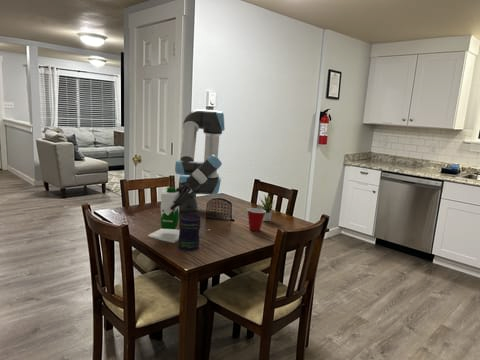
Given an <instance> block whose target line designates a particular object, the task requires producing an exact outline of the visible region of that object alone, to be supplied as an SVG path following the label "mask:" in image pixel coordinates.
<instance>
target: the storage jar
mask: <svg viewBox="0 0 480 360" xmlns="http://www.w3.org/2000/svg"><path fill="white" fill-rule="evenodd" d="M201 218H202V217H201V216H200V215H197V214H193V213H191V214H190V213H186V214H185V213H183V214H181V215H179V221H178V225H179V226H178V228H179V229H178V230H180V232H179V237H178V238H179V239H178V241H177V242H178V244H177V245H178V246H177V247H178V250H181V251H183V252H195V251H197V250H199V248H200V230H201Z"/></svg>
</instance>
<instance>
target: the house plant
mask: <svg viewBox="0 0 480 360" xmlns="http://www.w3.org/2000/svg"><path fill="white" fill-rule="evenodd" d="M263 195H264V201H263V200H262V198H261V197H259V196H256V197H258V200H259V201H261V203H262V204H260V203H258V204H257V206H256V207H258V206H259V207H260V209H263V210H265V211H266V213H265V214H264V217H263V220H265V221H268V220H270V221H271V218H272V215H273V209H276V208H274V206H275V204H274V203H275V201H276V200H273V201H272V202H271V197H270V195H267V196H266V195H265V194H263ZM270 203H271V204H270Z"/></svg>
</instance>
